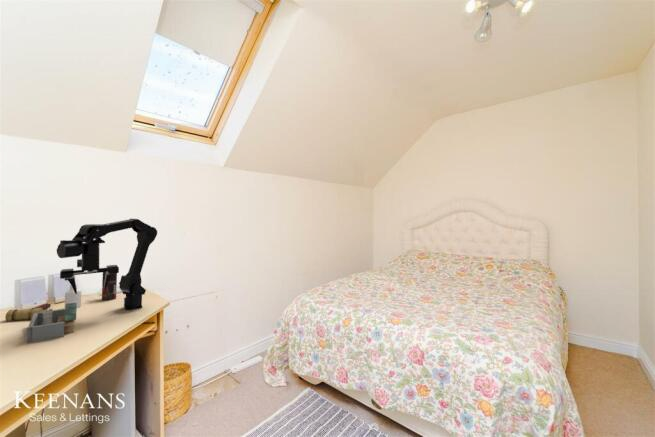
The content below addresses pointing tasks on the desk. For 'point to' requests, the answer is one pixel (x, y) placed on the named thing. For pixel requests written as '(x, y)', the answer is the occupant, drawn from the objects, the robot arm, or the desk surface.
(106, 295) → the deodorant
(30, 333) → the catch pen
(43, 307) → the gavel
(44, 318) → the rook chess piece
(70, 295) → the eye dropper bottle
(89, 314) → the desk surface
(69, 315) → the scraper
